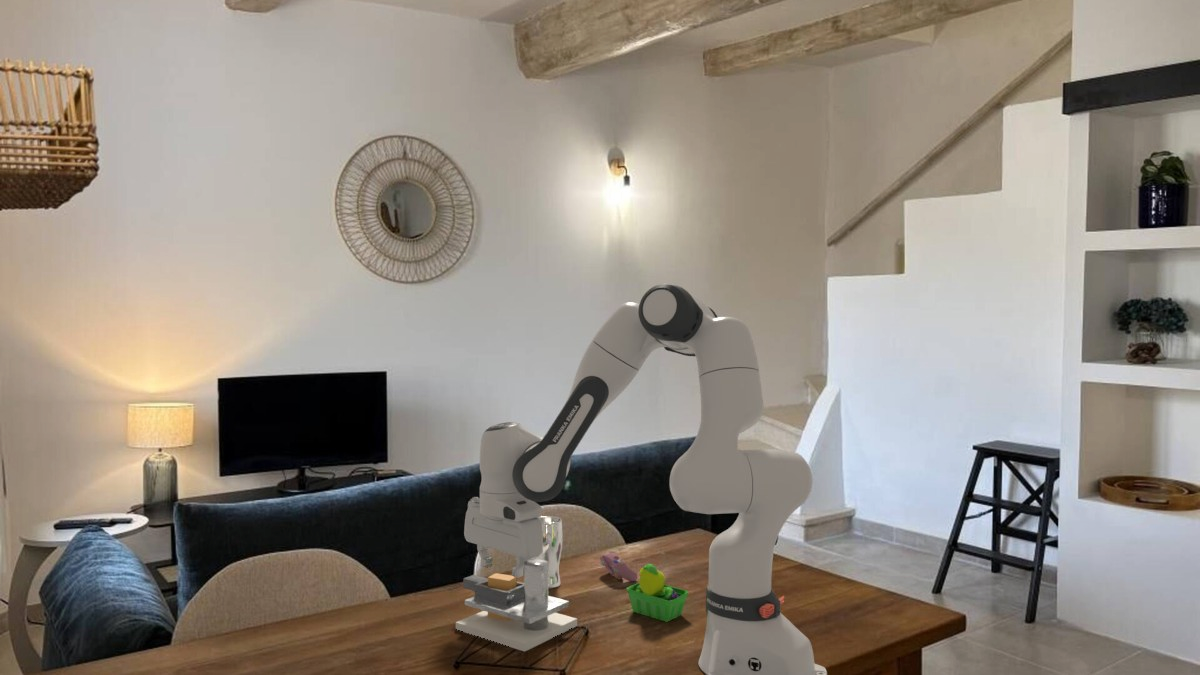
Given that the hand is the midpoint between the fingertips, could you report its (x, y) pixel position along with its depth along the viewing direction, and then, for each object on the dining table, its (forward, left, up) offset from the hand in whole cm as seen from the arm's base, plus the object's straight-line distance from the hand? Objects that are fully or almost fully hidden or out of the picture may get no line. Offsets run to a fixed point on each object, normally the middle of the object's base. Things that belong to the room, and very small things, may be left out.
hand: (501, 571), depth 181 cm
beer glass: (+8, -24, -11) cm, 27 cm away
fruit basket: (-22, -23, -11) cm, 34 cm away
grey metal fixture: (-2, 0, -9) cm, 9 cm away
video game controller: (-2, -38, -11) cm, 40 cm away
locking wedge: (0, 0, -9) cm, 9 cm away
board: (-4, 0, -11) cm, 11 cm away
